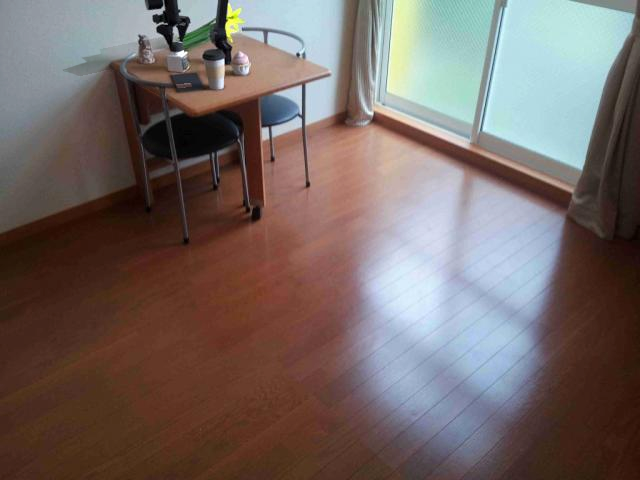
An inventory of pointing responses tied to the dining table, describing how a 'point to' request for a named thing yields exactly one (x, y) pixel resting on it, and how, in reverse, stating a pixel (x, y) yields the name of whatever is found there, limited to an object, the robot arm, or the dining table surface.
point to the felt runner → (188, 81)
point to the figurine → (145, 50)
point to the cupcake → (240, 64)
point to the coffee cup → (214, 68)
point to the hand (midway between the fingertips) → (176, 44)
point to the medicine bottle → (177, 58)
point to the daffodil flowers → (204, 31)
